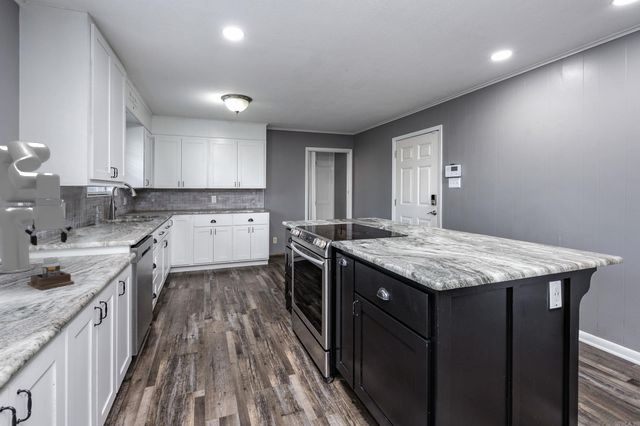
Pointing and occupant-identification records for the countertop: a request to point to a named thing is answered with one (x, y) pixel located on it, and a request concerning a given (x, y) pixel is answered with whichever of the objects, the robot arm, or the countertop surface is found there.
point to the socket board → (50, 281)
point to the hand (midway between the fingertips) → (49, 243)
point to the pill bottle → (50, 268)
